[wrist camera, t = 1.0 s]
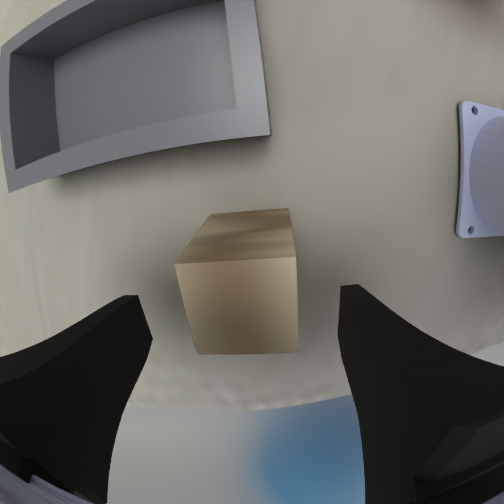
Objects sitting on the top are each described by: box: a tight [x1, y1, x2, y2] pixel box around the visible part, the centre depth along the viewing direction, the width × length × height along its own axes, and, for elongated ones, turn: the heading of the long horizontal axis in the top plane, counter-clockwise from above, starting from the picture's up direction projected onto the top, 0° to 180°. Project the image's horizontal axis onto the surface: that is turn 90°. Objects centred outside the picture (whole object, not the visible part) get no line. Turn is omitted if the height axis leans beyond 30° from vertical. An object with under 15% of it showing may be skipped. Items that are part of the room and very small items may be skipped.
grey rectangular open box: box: [0, 0, 272, 193], centre depth 10 cm, size 13×8×4 cm, turn 95°
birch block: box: [174, 208, 299, 354], centre depth 13 cm, size 4×4×6 cm
